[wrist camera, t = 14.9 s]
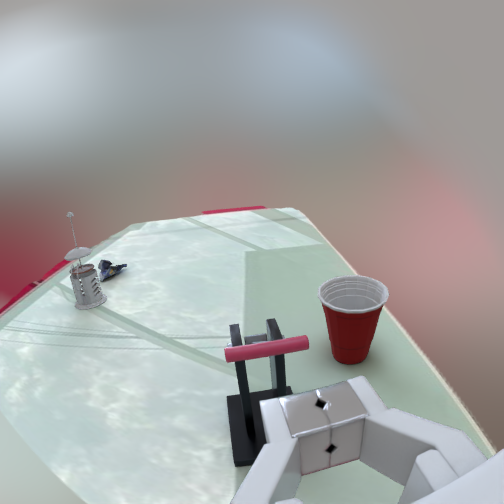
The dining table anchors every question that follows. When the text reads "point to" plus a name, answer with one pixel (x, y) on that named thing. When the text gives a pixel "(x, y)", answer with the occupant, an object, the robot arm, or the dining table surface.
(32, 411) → the dining table surface
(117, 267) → the snack package
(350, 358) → the plastic cup
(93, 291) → the french press
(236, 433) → the bracket
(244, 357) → the lever
